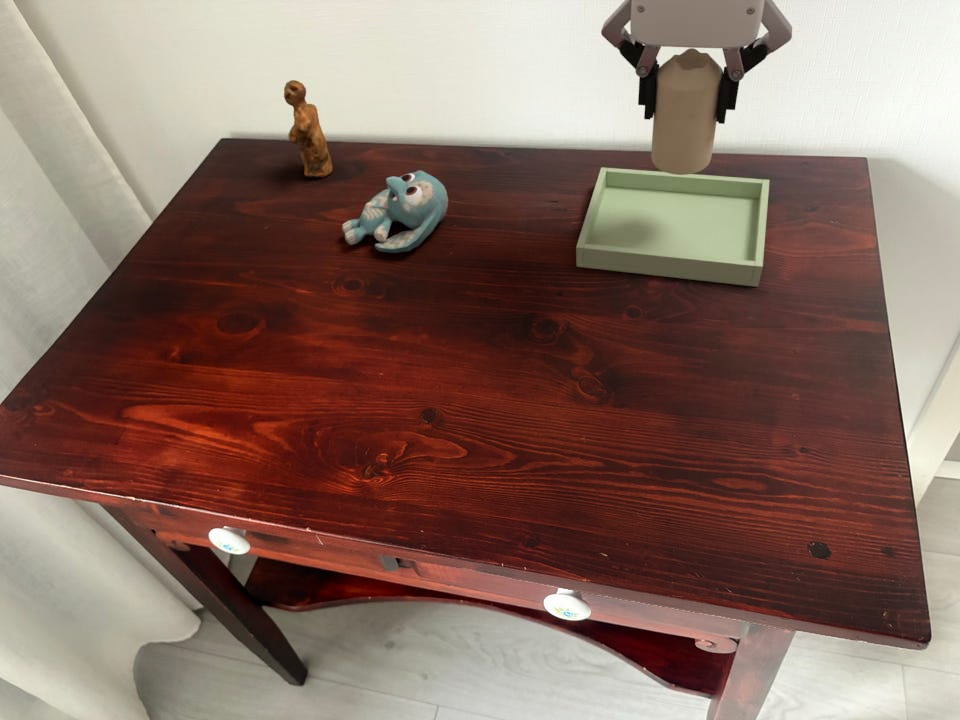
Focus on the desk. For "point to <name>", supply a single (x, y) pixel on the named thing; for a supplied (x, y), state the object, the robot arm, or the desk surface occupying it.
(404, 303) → the desk surface
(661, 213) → the tray
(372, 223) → the stuffed animal
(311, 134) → the figurine
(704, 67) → the candle
